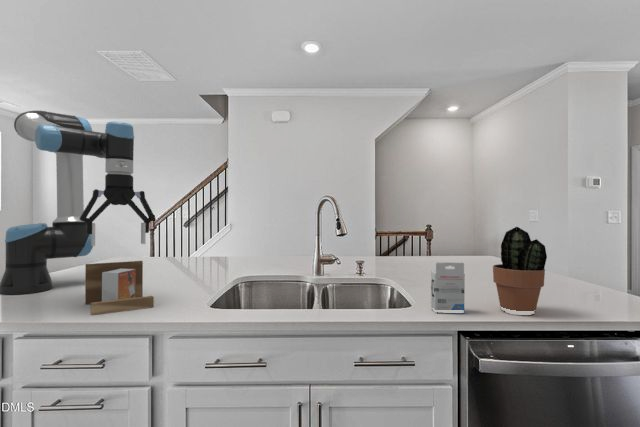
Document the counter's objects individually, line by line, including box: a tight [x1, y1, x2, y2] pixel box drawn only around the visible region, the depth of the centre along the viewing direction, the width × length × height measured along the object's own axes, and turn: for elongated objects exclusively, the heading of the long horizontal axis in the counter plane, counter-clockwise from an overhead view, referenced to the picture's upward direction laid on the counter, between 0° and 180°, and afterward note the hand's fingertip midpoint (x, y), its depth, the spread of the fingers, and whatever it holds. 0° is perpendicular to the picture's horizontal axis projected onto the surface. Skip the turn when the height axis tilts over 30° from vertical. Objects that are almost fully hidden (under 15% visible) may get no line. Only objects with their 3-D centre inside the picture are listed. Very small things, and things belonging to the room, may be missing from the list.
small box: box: [102, 269, 136, 301], centre depth 118 cm, size 8×6×10 cm
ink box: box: [430, 261, 466, 311], centre depth 114 cm, size 8×5×15 cm, turn 90°
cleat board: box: [84, 260, 155, 316], centre depth 118 cm, size 17×16×12 cm
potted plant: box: [492, 226, 548, 311], centre depth 114 cm, size 14×14×25 cm
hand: (118, 244), depth 118 cm, fingers open, 13 cm apart
